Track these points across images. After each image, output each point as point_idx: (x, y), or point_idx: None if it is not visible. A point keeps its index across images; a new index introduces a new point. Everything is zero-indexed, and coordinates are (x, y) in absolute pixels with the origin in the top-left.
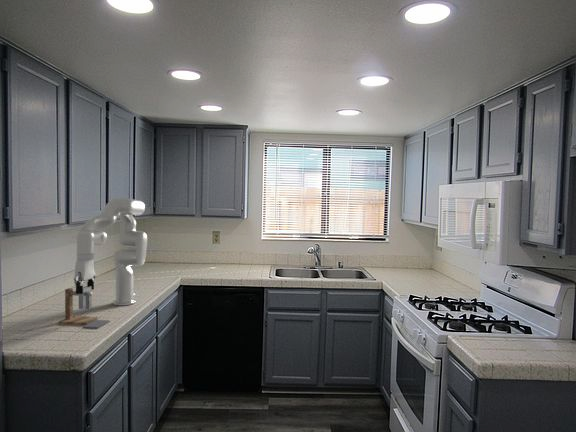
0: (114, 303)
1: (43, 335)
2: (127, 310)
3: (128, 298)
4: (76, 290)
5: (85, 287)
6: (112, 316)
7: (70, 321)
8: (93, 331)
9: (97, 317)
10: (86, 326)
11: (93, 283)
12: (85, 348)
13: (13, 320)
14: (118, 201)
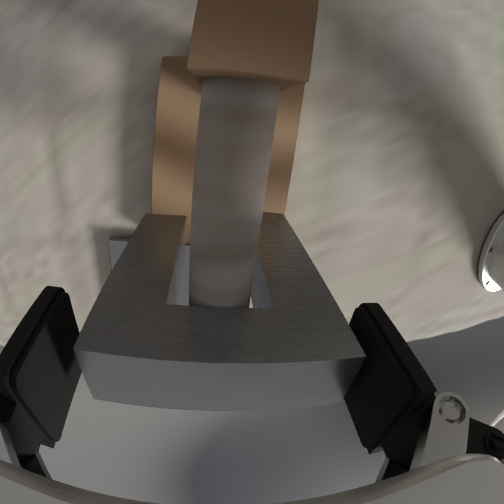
0: (499, 224)
1: (2, 117)
2: (415, 305)
3: (500, 285)
4: (29, 321)
5: (207, 394)
6: (332, 288)
7: (165, 129)
8: (87, 301)
9: None
10: (113, 258)
11: (364, 433)
12: None
13: None
14: None
